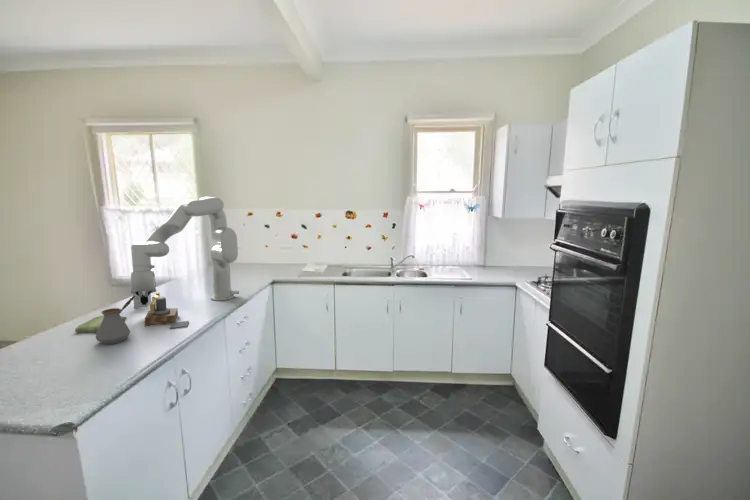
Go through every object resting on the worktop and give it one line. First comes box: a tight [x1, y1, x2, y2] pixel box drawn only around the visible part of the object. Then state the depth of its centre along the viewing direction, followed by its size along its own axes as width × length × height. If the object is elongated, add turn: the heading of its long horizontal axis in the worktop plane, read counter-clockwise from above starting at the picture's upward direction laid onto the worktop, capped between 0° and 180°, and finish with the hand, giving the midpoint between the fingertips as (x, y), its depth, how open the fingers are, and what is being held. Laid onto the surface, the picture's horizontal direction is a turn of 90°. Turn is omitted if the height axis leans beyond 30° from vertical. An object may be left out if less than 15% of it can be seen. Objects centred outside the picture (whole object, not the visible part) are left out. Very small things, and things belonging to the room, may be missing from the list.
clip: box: [149, 292, 161, 313], centre depth 170 cm, size 3×19×5 cm, turn 24°
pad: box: [169, 320, 189, 330], centre depth 162 cm, size 7×7×1 cm
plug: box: [153, 296, 171, 315], centre depth 166 cm, size 7×7×12 cm
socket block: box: [144, 307, 179, 327], centre depth 168 cm, size 12×14×5 cm
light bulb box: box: [132, 291, 152, 309], centre depth 190 cm, size 11×7×11 cm, turn 25°
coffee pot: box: [95, 295, 138, 345], centre depth 147 cm, size 21×12×15 cm, turn 2°
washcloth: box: [74, 315, 127, 334], centre depth 159 cm, size 13×18×3 cm
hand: (144, 304), depth 174 cm, fingers closed
